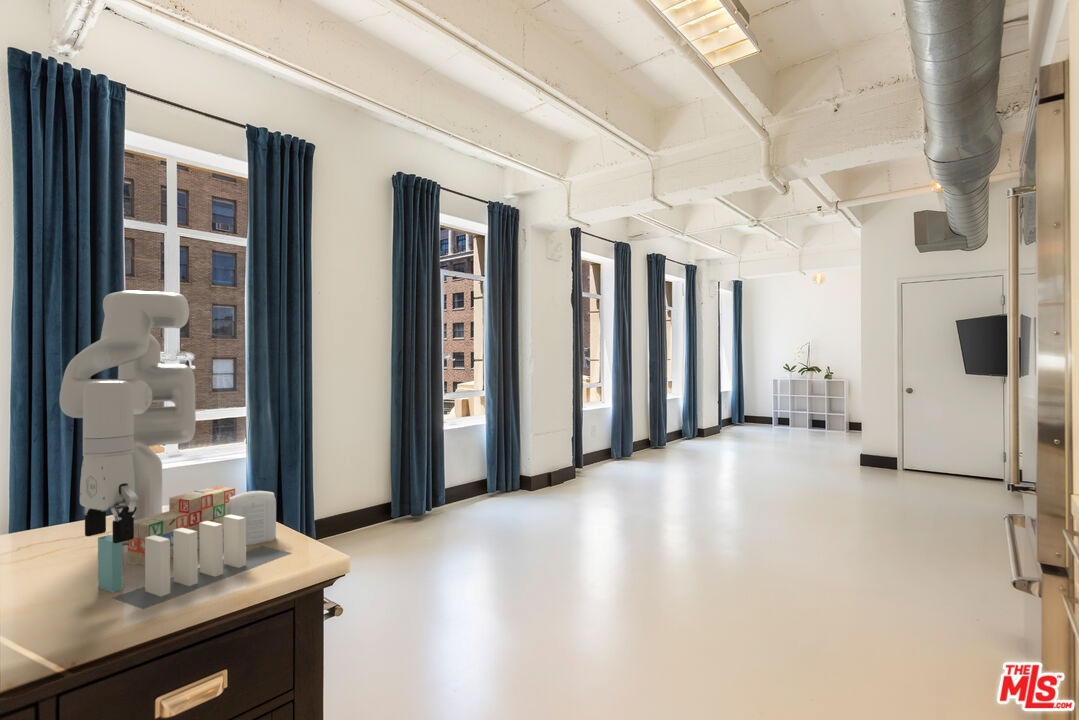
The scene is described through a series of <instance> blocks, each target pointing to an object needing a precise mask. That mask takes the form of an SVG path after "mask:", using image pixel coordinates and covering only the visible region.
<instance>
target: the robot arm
mask: <svg viewBox="0 0 1079 720" xmlns="http://www.w3.org/2000/svg"><path fill="white" fill-rule="evenodd" d="M102 309H103V313H104V318H103V323H102V324H103V325H102V328H101V334H100V339H99V340H97V341H95V342H93V343H91V344H90V345H88V346H86V347H85V348H84V349H82V350H81V351H80V352H79V353H78V354H76V355H75V356H74V357H73V358H71V360H70V361H69V363H68V364H67V366H66V369H65V370H64V373H63V377H62V382H61V387H60V391H59V406H60V409H61V411H62V413H64V415H66V416H67V417H70V418H73V419H74V418H75V419H82V457H83V459H82V464H81V469H80V470H81V471H80V483H79V505H80V506H82V507H84V509H83V514H84V536H85V537H92V536H95V535H96V536H97V535H102V534H105V533H106V531H107V511H108V510H109V509H110V511H111V513H112V515H113V518H114V519H113V520H112V532H110V533H108V534H107V535H109V536H112V537H113V543H120V542H122V545H126V544H127V545H128V540H131V539H133V538H134V520H138V519H143V518H145V517H149V516H153V515H157V514H161V513H163V462H162V460H161V458H160V457H159V456H158V455H157V453H156V452H155V451H153V450H152V449H151V448H150V447H154V446H164V445H176V444H186V443H189V442H190V441H192V440H193V438H194V436H195V433H196V424H197V423H196V421H197V420H196V379H195V374H194V372H193V369H192V368H191V367H190V366H189V365H186V364H182V363H161V349H162V347H161V345H160V342H159V341H158V340H157V339H156V337H154V335H153V334H151V329H181V328H183V327H185V326H186V324H187V323H188V321H189V318H190V305H189V302H188V300H187V298H186V296H185V295H183V294H180V293H177V292H176V293H175V292H166V291H147V290H146V291H145V290H121V291H117V292H116V291H115V292H112V293H109V294H107V295H105V297H104V298H103V300H102ZM115 367H118V371H117V374H118V375H117V378H100V379H99V378H98V379H97V378H93V379H90V378H91V377H92V376H94V375H96V374H98V373H99V372H103V371H105V370H108V369H110V368H111V369H112V368H115ZM157 402H158V403H161V402H171V403H173V404H174V405H173V406H172V405H171V406H152V403H157Z"/></svg>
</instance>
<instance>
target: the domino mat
mask: <svg viewBox="0 0 1079 720" xmlns="http://www.w3.org/2000/svg"><path fill="white" fill-rule="evenodd" d="M291 554H292V552H290V551H285V550H281V549H277V548H273V547H269V546H265V545H261V546H258V547H254V548H252V549H249V550H246V565H245V566H243V567H240V568H237V567H234V566H230V565H226V564H224V558H223V574H221V575H218V576H216V577H214V576H211V575H208V574H204V573H201V572H200V566H199V567H198V583H197V584H194V585H191V586H187V585H184V584H181V583H177V582H174V575H173V576H170V593H169V594H167V595H164V596H158V595H155V594H152V593H149V592H146V591H145V585H144V586H141V587H139V588H136V589H133V590H130V591H127V592H124V593H122V594H121V593H120V594H118V595H116V596H113V597H112V599H114V600H117V601H120V602H123V603H125V604H128V605H130V606H133V607H135V608H138V609H141V610H146V609H147V608H151V607H153V606H156V605H158V604H161V603H164V602H167V601H169V600H172V599H175V598H177V597H179V596H183V595H185V594H188V593H190V592H193V591H196V590H199V589H201V588H203V587H206V586H208V585H212V584H214V583H217V582H219V581H222V580H225V579H227V578H231V577H232V576H233V577H234V576H235V575H238V574H241V573H243V572H247V571H248V570H251V569H254V568H257V567H259V566H262V565H264V564H267V563H270V562H273V561H274V560H278V559H281V558H283V557H286V556H289V555H291Z"/></svg>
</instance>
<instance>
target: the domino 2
mask: <svg viewBox="0 0 1079 720" xmlns="http://www.w3.org/2000/svg"><path fill="white" fill-rule="evenodd" d="M144 568H145V569H144V572H145V575H144V576H145V578H144V579H145V580H144V581H145V582H144V583H145V585H144V586H145V591H146V592H149V593H152V594H155V595H158V596H164V595H167V594H169V593H170V577H171V558H170V539H167V538H163V537H160V536H156V535H153V536H149V537H146V538H145V565H144Z"/></svg>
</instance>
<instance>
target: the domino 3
mask: <svg viewBox="0 0 1079 720" xmlns="http://www.w3.org/2000/svg"><path fill="white" fill-rule="evenodd" d="M173 552H174V557H173V576H174V582H177V583H181V584H184V585H187V586H191V585H194V584H197V583H198V568H199V567H198V564H199V563H198V548H197V531H194V530H190V529H185V528H179V529H175V530H173Z"/></svg>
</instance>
